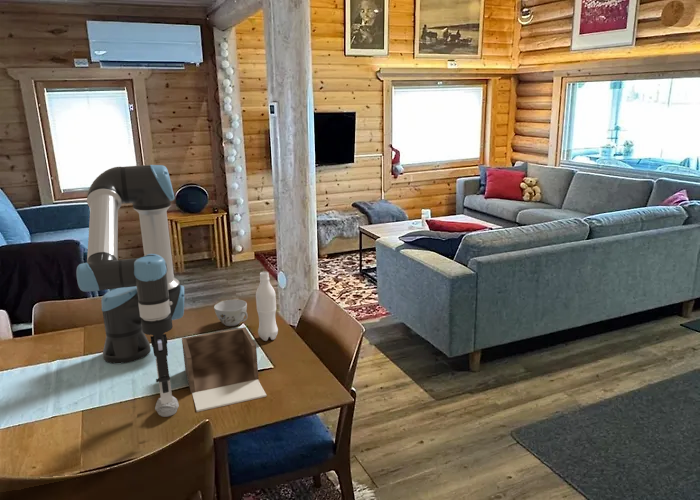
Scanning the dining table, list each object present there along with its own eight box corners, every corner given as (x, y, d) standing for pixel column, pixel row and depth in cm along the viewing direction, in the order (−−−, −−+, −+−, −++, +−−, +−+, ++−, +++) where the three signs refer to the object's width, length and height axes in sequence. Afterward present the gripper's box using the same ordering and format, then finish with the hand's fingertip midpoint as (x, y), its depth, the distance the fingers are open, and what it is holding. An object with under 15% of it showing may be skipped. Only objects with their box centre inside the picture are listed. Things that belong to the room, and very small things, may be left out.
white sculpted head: (154, 425, 141) (151, 402, 139) (159, 411, 148) (156, 389, 146) (178, 423, 142) (175, 400, 140) (181, 409, 149) (179, 387, 147)
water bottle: (281, 335, 197) (277, 270, 191) (272, 343, 190) (268, 276, 184) (264, 333, 199) (260, 269, 193) (255, 340, 193) (250, 275, 186)
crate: (191, 397, 155) (187, 358, 152) (185, 374, 169) (181, 338, 166) (258, 383, 162) (256, 345, 159) (248, 362, 176) (245, 327, 173)
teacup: (208, 325, 208) (207, 306, 206) (232, 315, 218) (231, 297, 216) (235, 333, 199) (233, 313, 197) (259, 323, 209) (257, 303, 207)
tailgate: (192, 397, 155) (197, 415, 145) (192, 393, 154) (196, 410, 144) (258, 383, 162) (266, 399, 152) (257, 379, 162) (266, 394, 152)
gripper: (175, 330, 128) (184, 409, 133) (167, 299, 150) (175, 368, 155) (142, 335, 125) (152, 416, 130) (139, 303, 147) (148, 373, 152)
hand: (165, 390), depth 143 cm, fingers open, 13 cm apart
